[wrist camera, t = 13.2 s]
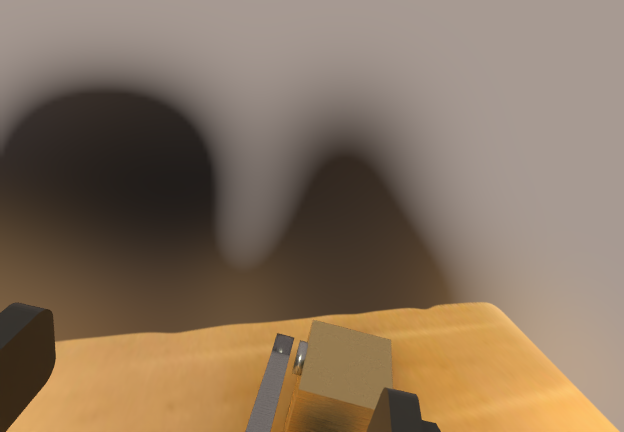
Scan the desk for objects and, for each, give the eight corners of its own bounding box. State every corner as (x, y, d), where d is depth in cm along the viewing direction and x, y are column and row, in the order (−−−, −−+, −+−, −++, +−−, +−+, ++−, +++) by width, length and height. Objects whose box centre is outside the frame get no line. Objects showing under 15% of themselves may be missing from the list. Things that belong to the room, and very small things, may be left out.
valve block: (243, 566, 37) (274, 449, 30) (288, 377, 56) (314, 280, 49) (344, 594, 37) (398, 483, 30) (355, 395, 56) (390, 299, 49)
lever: (265, 353, 42) (180, 595, 22) (272, 325, 42) (190, 547, 21) (295, 361, 42) (238, 612, 22) (302, 333, 42) (251, 565, 21)
